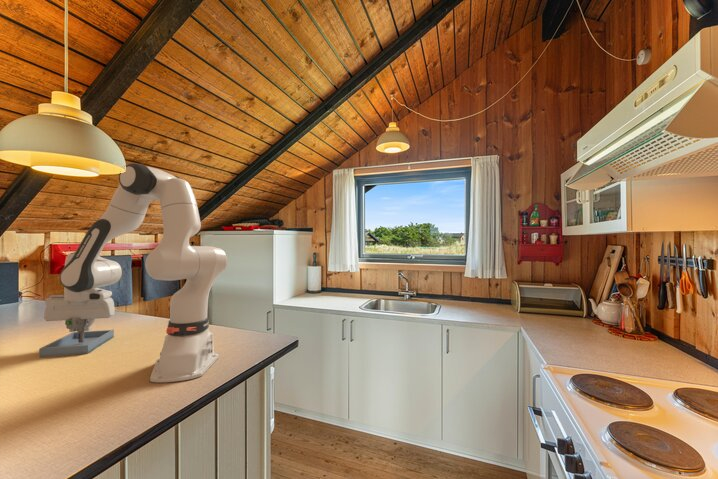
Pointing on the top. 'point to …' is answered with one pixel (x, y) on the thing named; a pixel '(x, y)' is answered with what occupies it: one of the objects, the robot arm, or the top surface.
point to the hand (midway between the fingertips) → (80, 330)
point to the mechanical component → (77, 327)
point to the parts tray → (76, 343)
